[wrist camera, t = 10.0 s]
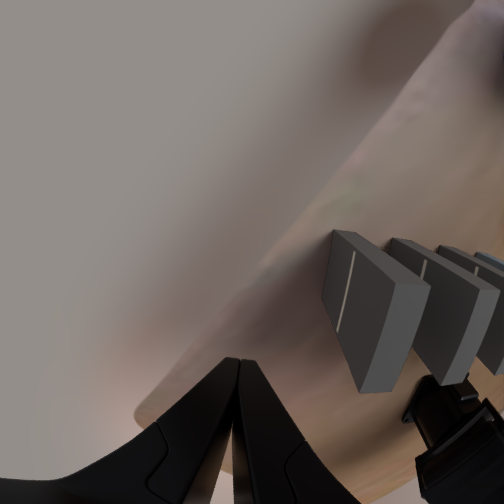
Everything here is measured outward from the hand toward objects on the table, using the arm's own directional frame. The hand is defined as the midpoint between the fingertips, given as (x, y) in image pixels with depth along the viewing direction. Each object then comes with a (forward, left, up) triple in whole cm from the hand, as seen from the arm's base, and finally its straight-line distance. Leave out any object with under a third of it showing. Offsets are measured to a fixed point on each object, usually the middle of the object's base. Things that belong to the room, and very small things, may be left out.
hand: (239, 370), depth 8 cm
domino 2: (0, -10, -12) cm, 16 cm away
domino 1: (0, -6, -12) cm, 13 cm away
